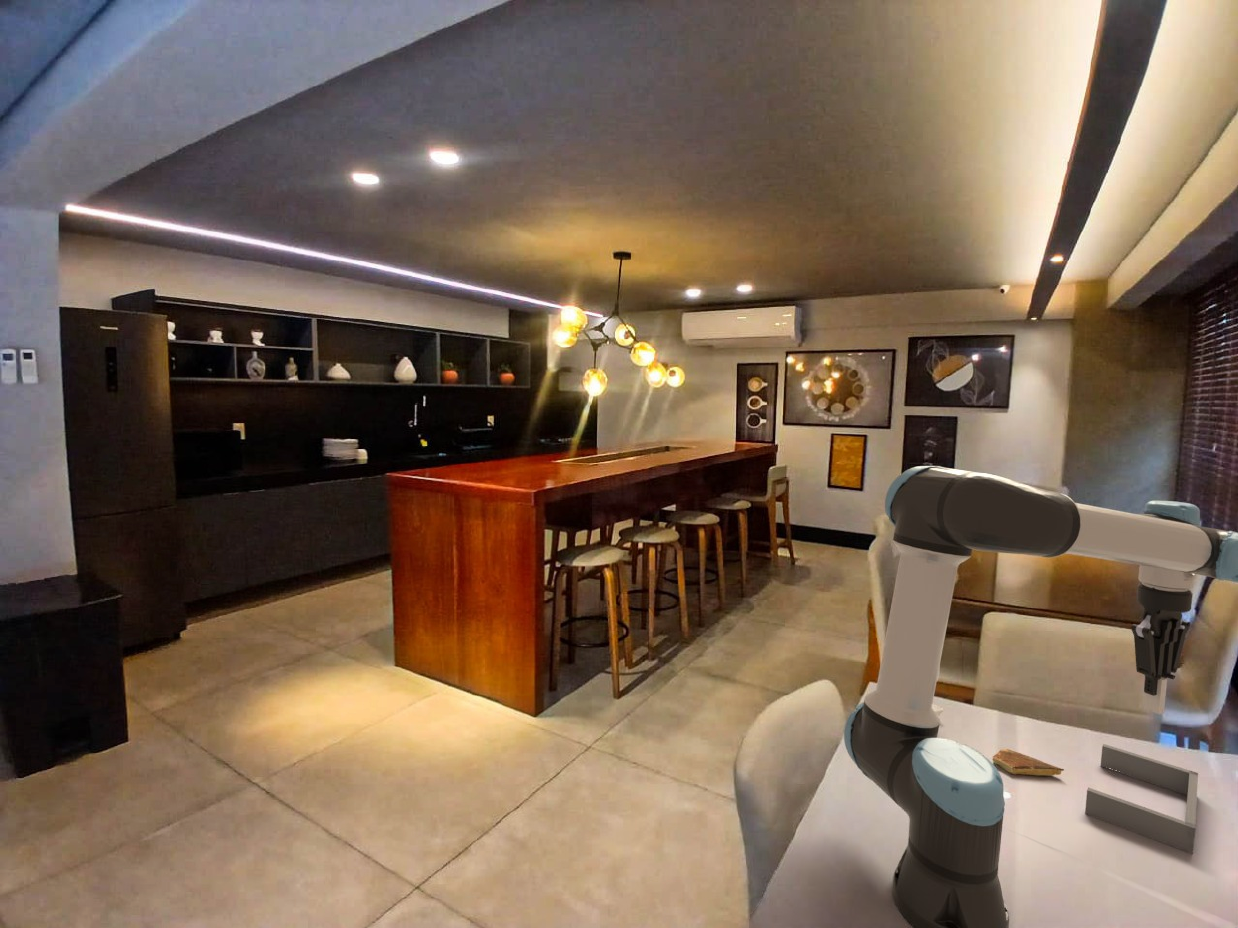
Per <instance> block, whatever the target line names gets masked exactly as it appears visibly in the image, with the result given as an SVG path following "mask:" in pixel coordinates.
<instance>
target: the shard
mask: <svg viewBox="0 0 1238 928" xmlns="http://www.w3.org/2000/svg"><path fill="white" fill-rule="evenodd" d="M992 761H993V762H992V764H993V765H996V766H1000V767H1001V768H1002V769H1003V770H1005V771H1006V772H1008V773H1010V774H1012V775H1013V776H1014V775H1022V776H1023V775H1030V776H1047V777H1049V776H1055V775H1056V776H1057V775H1059V776H1060V775H1061V774H1062V772H1063V771H1065V769H1064V768H1061V767H1057V766H1055V765H1053V764H1049V763H1047V762H1044V761H1042V760H1039V759H1037V758H1034V757H1032V756H1029V755H1026V754H1023V753H1020V752H1017V751H1014V750H1011V749H1008V748H1003V749H999V750H998V752H997V753H996V754H994V755H993V756H992Z"/></svg>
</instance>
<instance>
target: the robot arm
mask: <svg viewBox="0 0 1238 928" xmlns="http://www.w3.org/2000/svg"><path fill="white" fill-rule="evenodd" d="M889 485H890V486H889V487H888V489H887V491H886V495H885V499H884V509H885V510H884V511H885V515H886V516H887V517H888V520H889V522H890V523H891V524H892V525H893V526H894V531H893V538H892V543H893V544H894V545H895V547H896V548H897V550H898V552H899V554H900V555H899V560H898V566H897V572H896V577H895V583H894V589H893V593H892V598H891V599H892V600H891V604H890V605H891V606H890V611H889V615H888V622H887V628H886V631H885V632H886V633H885V639H884V644H883V650H882V655H881V660H880V666H879V672H878V678H877V683H876V689H874V690H873V691H872V692H869V693H868V694H866V695H865V696H864V700H863V702H861V703H859V704H858V705H856V706H855V708H854V709H855V710H854V711H853V712H850V714H849V715H848V717H847V719H846V722H845V725H844V730H843V740H844V746H845V749H846V752H847V755H848V756H849V757H850V759H851V760H852V762H853V763H854V764H855V765H856V767H857V768H858V769H859V770H860V772H862V774H863V775H865V777H866V778H868V779H869V780H871V781H872V782H873V783H874V784H875V785H876V786H877V787H878V788H879V789H881V790H882V791H883V792H884V793H885V794H886V795H887V797H889V798H890V799H891V801H893V802H894V803H895V804H897V806H898V807H900V808H901V810H903V811H904V812H905V813H906V814H907V816H908V818H909V820H908V822H909V823H908V841H907V846H906V848H905V850H903V851H904V852H903V854H902V856H901V858H900V859H899V862H898V864H897V866H896V868H895V869H894V873H893V877H892V887H891V888H892V892H891V893H893V894H892V898H894V899H893V901H895V902H894V904H895V906H896V908H897V907H898V908H897V910H898V911H899V912H900V914H901V915H902V916H903V917H904V919H905V920H906V921H907V922H909V924H910V925H911V926H912V927H914V928H1009V926H1010V914H1009V910H1008V907H1007V904H1006V901H1005V900H1004V897H1003V890H1002V886H1001V881H1000V878H999V863H1000V853H1001V841H1002V833H1003V821H1004V813H1005V804H1006V803H1005V797H1004V781H1003V778H1002V776H1001V773H1000V772H999V770H998V769H997V767H996V766H995V764H994V763H993V762H992V761H991V760H990V759H989V758H987V757H986V756H985V755H984V754H982V753H981V752H979V750H977V749H975V748H973V747H971V746H969V745H967V744H960V743H959V742H958V741H957V740H953V739H949V738H945V737H938V736H939V728H940V722H941V720H940V719H941V718H940V716H939V717H938V715H937V714H936V712H935V711H934V710H933V708H932V704H934V703H933V702H934V698H935V691H936V686H937V682H938V681H937V677H938V671H939V672H940V670H939V666H940V667H941V659H942V653H943V649H944V645H945V644H944V643H945V638H946V633H947V627H948V621H949V617H950V611H951V607H952V606H951V605H952V600H953V596H954V590H955V585H956V579H957V573H958V569H959V566H960V564H962V563H964V562H965V561H967V560H968V559H969V560H970V558H971V557H972V553H973V550H974V551H979V552H980V551H981V552H986V553H1001V554H1013V555H1014V554H1015V555H1026V556H1034V557H1043V558H1057V557H1058V558H1059V557H1060V556H1064V555H1065V554H1067V555H1069V554H1070V555H1075V556H1080V557H1088V558H1094V559H1095V558H1096V559H1100V560H1107V561H1113V562H1120V563H1125V564H1133V565H1139V570H1138V576H1137V577H1138V578H1137V579H1138V581H1139V582H1140V583H1138V584H1137V590H1136V591H1137V592H1136V602H1137V604H1139V606H1140V605H1141V606H1142V607H1143V608H1144V609H1143V613H1142V614H1141V622H1140V623H1139V624H1135V623H1133V624H1131V628H1130V629H1131V631H1132V634H1133V638H1134V639H1133V640H1134V654H1135V655H1134V657H1135V668H1136V673H1139V674H1142V675H1144V682H1143V683H1144V684H1143V694H1142V703H1141V704H1142V705H1141V708H1142V709H1145V710H1148V711H1150V712H1153V713H1155V714H1157V715H1161V714H1164V713H1165V708H1166V707H1165V705H1166V697H1167V696H1166V694H1167V688H1168V685H1167V684H1168V679H1170V680H1175V678H1176V675H1174V674H1176V673H1177V671H1178V668H1179V663H1180V658H1181V654H1182V652H1183V647H1184V643H1185V640H1186V635H1187V633H1188V631H1189V629H1190V627H1191V622H1190V621H1188V620H1184V619H1183V613H1184V614H1185V613H1188V612H1190V611H1191V610H1192V602H1193V594H1194V593H1193V592H1192V591H1191V589H1192V588H1193V587H1194V580H1195V579H1196V578H1197V575H1199V576H1204V577H1208V578H1212V579H1216V580H1217V581H1218V580H1219V581H1223V582H1224V581H1225V582H1227V581H1228V582H1231V583H1232V582H1233V583H1236V584H1237V583H1238V532H1236V531H1233V530H1223V529H1217V528H1213V527H1212V528H1211V527H1207V526H1206V527H1205V526H1201V511H1200V510H1201V509H1200V508H1199V507H1198V506H1197V505H1196V504H1192V503H1188V502H1182V501H1181V502H1180V501H1171V500H1150V501H1148V502H1146V503H1145V506H1144V510H1143V513H1132V512H1127V511H1122V510H1117V509H1116V510H1114V509H1109V508H1105V507H1100V506H1094V505H1090V504H1084V503H1083V504H1082V503H1077V502H1075V501H1074V500H1073V499H1072V498H1071V497H1070V496H1069V495H1066V494H1064V493H1061V492H1057V491H1052V490H1047V489H1045V488H1040V487H1037V486H1032V485H1029V484H1025V483H1023V482H1020V481H1017V480H1014V479H1011V478H1007V477H1003V476H1000V475H996V474H991V473H986V472H977V471H970V470H965V469H963V470H962V469H957V468H949V467H944V466H941V465H920V466H914V467H911V468H909V469H908V468H907V470H905V471H903V472H902V473H901V474H899V475H897V477H896V478H895V479H894V480H893V481H892V482H891V483H890V484H889ZM1172 673H1173V674H1172Z"/></svg>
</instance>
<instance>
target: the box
mask: <svg viewBox="0 0 1238 928" xmlns="http://www.w3.org/2000/svg"><path fill="white" fill-rule="evenodd" d="M1101 746H1102V748H1101V755H1100V756H1101V758H1100V768H1103V767H1107V768H1111V769H1113V770H1117V771H1120V772H1122V773H1124V774H1123V775H1125V774H1127V775H1126V776H1128V775H1130V776H1129V777H1131V776H1132V777H1131V778H1134V777H1135V778H1134V779H1137V778H1138V780H1140V781H1143V782H1147V783H1150V784H1153V785H1155V786H1158V787H1162V788H1165V789H1168V790H1171V791H1174V792H1176V793H1179V794H1183V795H1186V804H1185V805H1186V806H1185V818H1184V820H1183V819H1179V818H1176V817H1174V816H1171V815H1168V814H1165V813H1162V812H1159V811H1156V810H1153V809H1151V808H1147V807H1145V806H1143V805H1139V804H1136V803H1133V802H1131V801H1129V800H1126V799H1122V798H1120V797H1117V796H1114V795H1110V794H1108V793H1105V792H1101V791H1099V790H1097V789H1094V788H1092V787H1087V790H1086V799H1085V810H1084V811H1085V812H1084V813H1085V814H1086V815H1088V816H1091V817H1093V818H1097V819H1099V820H1101V821H1104V822H1107V823H1110V824H1113V825H1115V826H1117V827H1121V828H1123V829H1126V830H1129V831H1131V832H1132V833H1133V832H1134V833H1136V834H1139V835H1141V836H1144V837H1147V838H1149V839H1152V840H1155V841H1157V842H1160V843H1163V844H1165V845H1168V846H1171V847H1173V848H1176V849H1178V850H1181V851H1184V852H1187V853H1189V854H1193V852H1194V846H1195V845H1194V844H1195V843H1194V842H1195V834H1196V821H1197V820H1196V819H1197V802H1198V801H1197V799H1198V785H1199V784H1198V780H1199V773H1198V772H1196V771H1192V770H1190V769H1187V768H1183V767H1179V766H1177V765H1173V764H1171V763H1167V762H1164V761H1160V760H1158V759H1154V758H1151V757H1147V756H1145V755H1141V754H1137V753H1135V752H1131V751H1128V750H1124V749H1121V748H1118V747H1114V746H1112V745H1108V744H1104V743H1102V745H1101ZM1107 768H1106V769H1107ZM1113 770H1112V771H1113ZM1122 773H1121V774H1122Z"/></svg>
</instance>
